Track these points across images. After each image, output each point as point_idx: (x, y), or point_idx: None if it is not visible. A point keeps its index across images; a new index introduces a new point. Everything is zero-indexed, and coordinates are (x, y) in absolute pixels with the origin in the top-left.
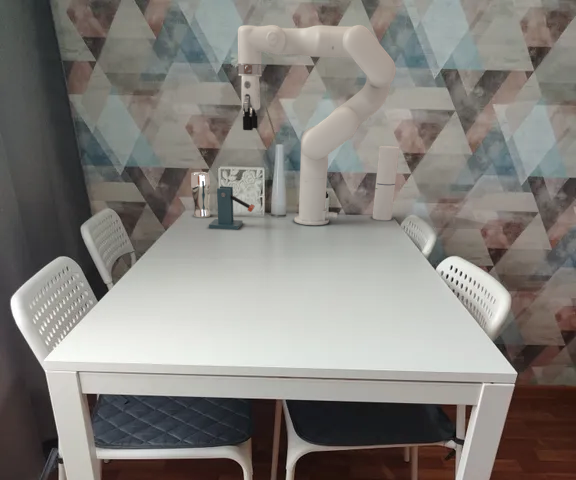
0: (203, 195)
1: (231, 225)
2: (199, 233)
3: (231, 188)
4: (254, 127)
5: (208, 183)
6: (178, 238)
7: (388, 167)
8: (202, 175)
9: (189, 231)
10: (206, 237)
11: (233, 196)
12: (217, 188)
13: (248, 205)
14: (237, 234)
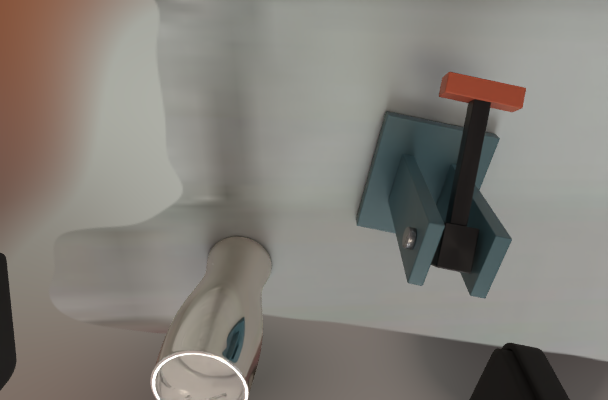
0: (260, 309)
1: (482, 163)
2: (528, 268)
3: (443, 226)
4: (7, 287)
5: (233, 323)
6: (585, 325)
7: None
8: (246, 377)
9: (491, 298)
10: (594, 245)
11: (466, 200)
12: (480, 296)
13: (489, 110)
14: (575, 136)
